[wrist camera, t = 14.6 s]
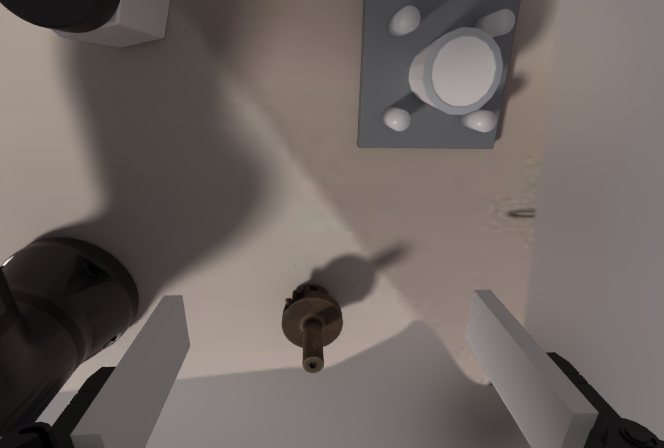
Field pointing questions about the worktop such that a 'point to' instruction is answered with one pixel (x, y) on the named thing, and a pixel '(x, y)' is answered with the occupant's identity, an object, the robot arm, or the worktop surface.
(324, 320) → the industrial component
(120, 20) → the jar
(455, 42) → the shot glass
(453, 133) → the pin plate
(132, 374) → the robot arm
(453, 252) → the worktop surface
